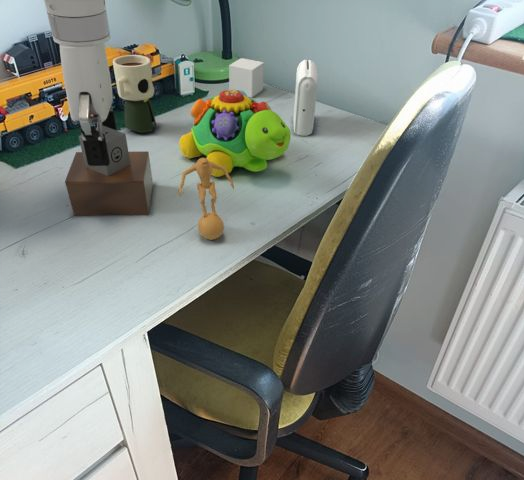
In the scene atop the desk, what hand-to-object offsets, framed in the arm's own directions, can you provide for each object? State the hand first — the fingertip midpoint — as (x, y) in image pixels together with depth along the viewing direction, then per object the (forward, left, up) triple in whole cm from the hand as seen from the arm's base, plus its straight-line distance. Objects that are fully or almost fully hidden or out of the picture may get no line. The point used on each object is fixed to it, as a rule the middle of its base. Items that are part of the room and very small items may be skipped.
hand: (103, 150), depth 81 cm
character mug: (+2, +28, -9) cm, 29 cm away
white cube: (+25, +49, -9) cm, 56 cm away
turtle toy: (+22, +13, -9) cm, 27 cm away
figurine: (+16, -11, -9) cm, 22 cm away
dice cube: (0, 0, -3) cm, 3 cm away
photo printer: (+36, +29, -9) cm, 47 cm away
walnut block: (0, 0, -9) cm, 9 cm away
